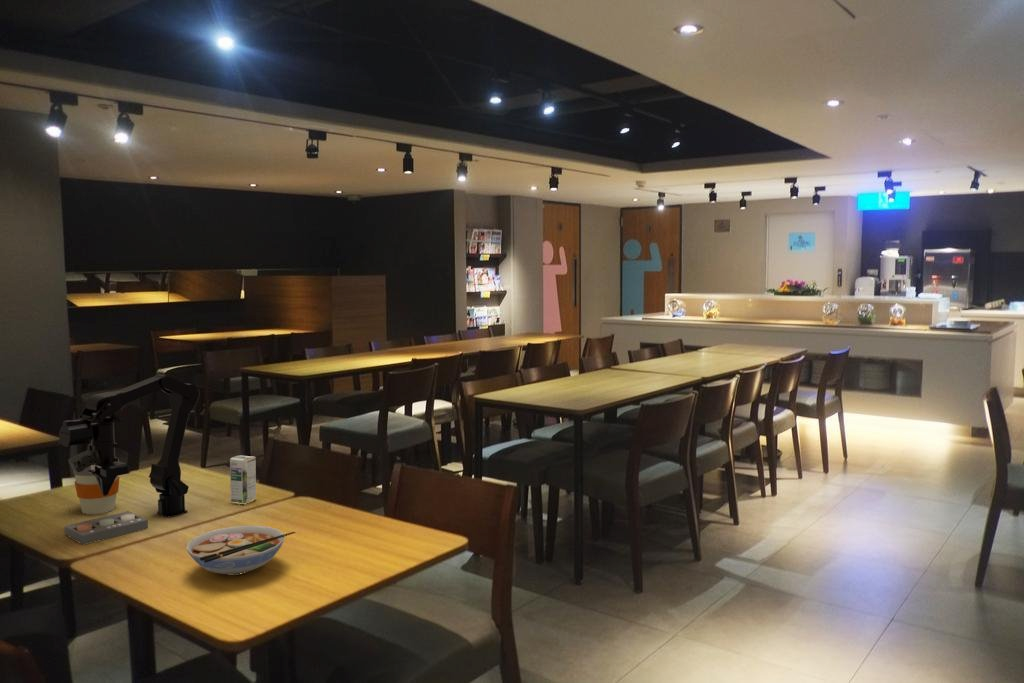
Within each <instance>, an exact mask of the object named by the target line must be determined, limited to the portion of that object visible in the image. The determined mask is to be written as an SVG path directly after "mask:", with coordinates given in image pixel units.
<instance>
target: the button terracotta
mask: <svg viewBox="0 0 1024 683" xmlns="http://www.w3.org/2000/svg"><path fill="white" fill-rule="evenodd" d="M90 529H92V524H81V525H78V526H77V531H78V532H82V531H86V530H90Z"/></svg>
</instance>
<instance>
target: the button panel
mask: <svg viewBox="0 0 1024 683" xmlns="http://www.w3.org/2000/svg"><path fill="white" fill-rule="evenodd" d="M125 514H135V519H132V520H127V521H121V516H122V515H125ZM103 519H114V524H111V525H107V526H102V527H101V526H99V521H100V520H103ZM81 524H92V529H90V530H86V531H82V532H78V531H77V526H78V525H81ZM147 528H148V529H149V523H148V519H147V518H144V517H143V516H140V515H137V514H136V513H133V512H130V511H129V510H128V511H123V512H119V513H118V512H117V513H115V514H110V515H106V516H100V517H97V518H92V519H88V520H84V521H80V522H75V523H71V524H67V525H66V524H65V525H64V535H65V534H66V535H65V536H67V535H68V536H70V537H71V538H70V537H69V538H70V539H72V538H73V539H72V540H74V539H75V540H77V541H79V542H80V543H79V542H78V543H79V544H81V543H82V544H81V545H83V544H85V545H87V544H86V543H89V544H91V543H90V542H93V543H95V542H94V541H97V542H99V541H98V540H101V541H104V540H103V539H105V540H108V539H112V538H115V537H116V538H117V537H119V536H123V535H124V536H125V535H128V534H133V533H135V531H136V532H139V530H140V531H143V529H144V530H147ZM68 536H67V537H68ZM107 538H108V539H107ZM75 540H74V541H75ZM77 541H76V542H77Z"/></svg>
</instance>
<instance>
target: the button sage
mask: <svg viewBox="0 0 1024 683" xmlns="http://www.w3.org/2000/svg"><path fill="white" fill-rule="evenodd" d="M111 524H114V519H103V520H100V521H99V526H101V527H102V526H107V525H111Z"/></svg>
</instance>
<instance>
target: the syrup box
mask: <svg viewBox="0 0 1024 683" xmlns="http://www.w3.org/2000/svg"><path fill="white" fill-rule="evenodd" d="M256 465H257V464H256V456H248V455H241V454H240V455H235V456H233V457H231V458H230V459H229V473H230V474H229V475H230V478H229V479H230V503H231V502H239V503H246V502H249V501H250V500H252V499H254V498H256V499H257V481H256V480H257V478H256V477H257V475H256V474H257V472H256V471H257V468H256Z"/></svg>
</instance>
